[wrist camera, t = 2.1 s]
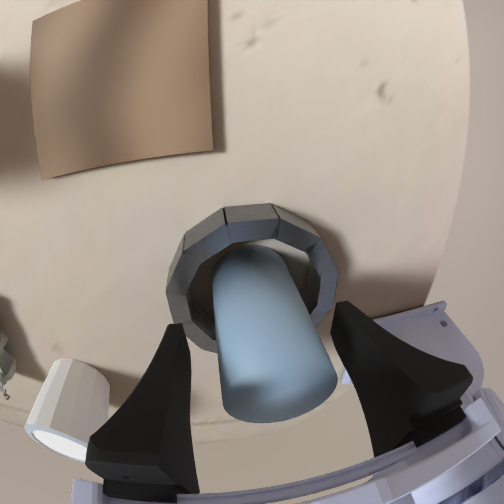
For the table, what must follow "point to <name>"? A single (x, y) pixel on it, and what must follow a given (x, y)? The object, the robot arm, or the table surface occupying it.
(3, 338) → the egg carton
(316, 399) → the blue peg
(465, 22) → the table surface
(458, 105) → the table surface
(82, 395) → the white tapered cup
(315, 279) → the metal ring
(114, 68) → the walnut pad
